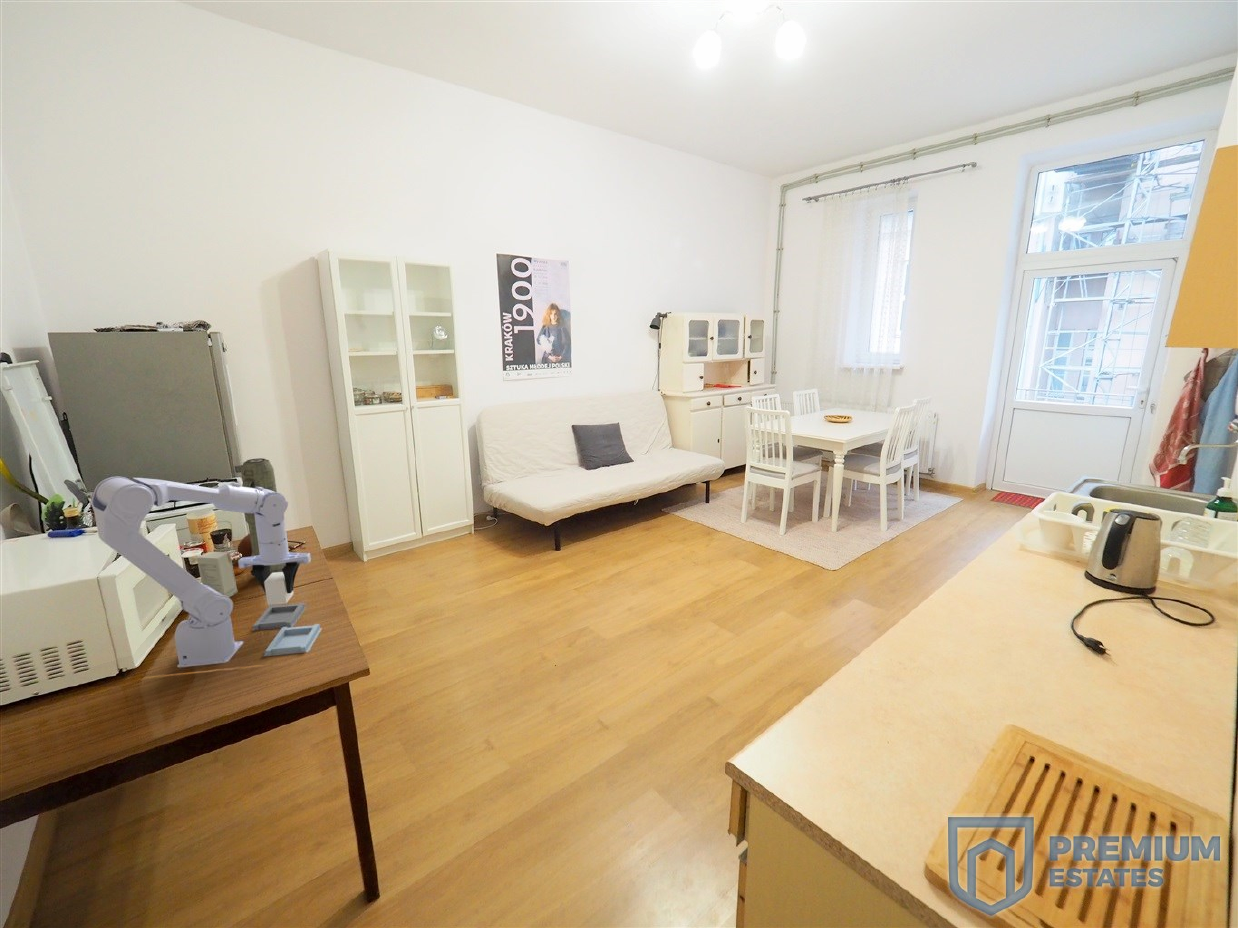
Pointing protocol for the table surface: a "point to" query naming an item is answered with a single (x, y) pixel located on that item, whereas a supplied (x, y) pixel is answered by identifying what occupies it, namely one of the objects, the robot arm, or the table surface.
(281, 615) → the rear socket
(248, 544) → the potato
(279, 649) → the front socket
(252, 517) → the olive tall rounded block
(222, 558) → the skincare box
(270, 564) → the robot arm
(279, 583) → the white rectangular block
